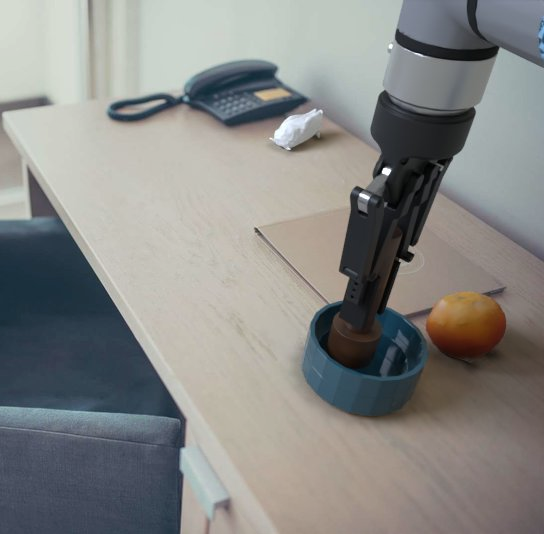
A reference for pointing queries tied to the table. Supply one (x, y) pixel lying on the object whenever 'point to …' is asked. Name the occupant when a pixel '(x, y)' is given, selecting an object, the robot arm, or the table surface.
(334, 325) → the muddler
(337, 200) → the table surface
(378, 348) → the bowl
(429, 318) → the fruit
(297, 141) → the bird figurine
